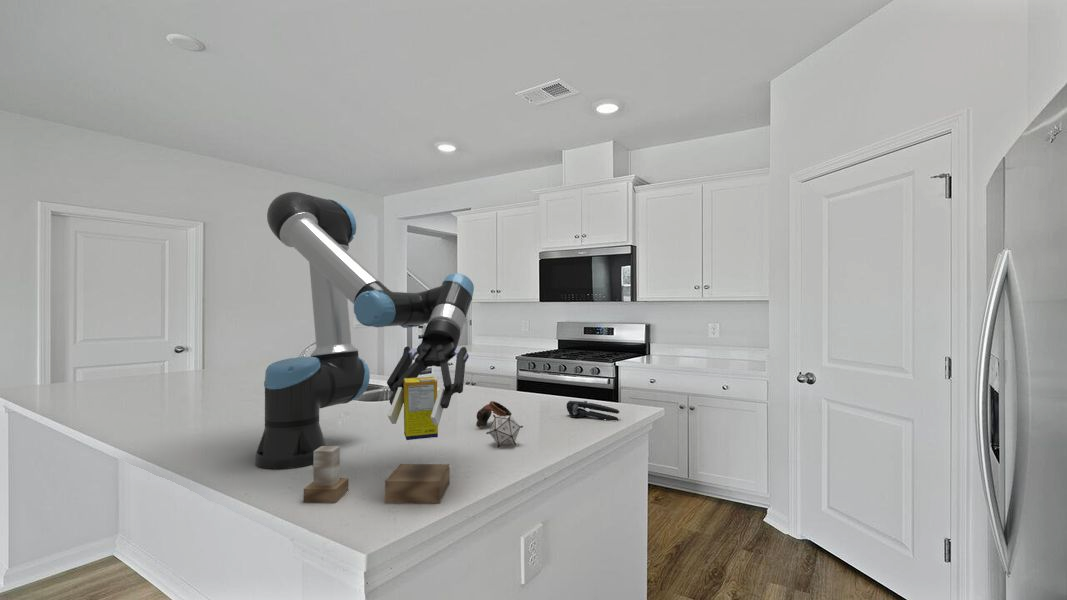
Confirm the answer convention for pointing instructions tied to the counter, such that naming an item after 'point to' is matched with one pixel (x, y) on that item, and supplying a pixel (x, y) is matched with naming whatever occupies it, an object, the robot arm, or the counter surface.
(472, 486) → the counter surface
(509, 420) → the game die
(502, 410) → the brown curved piece
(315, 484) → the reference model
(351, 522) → the counter surface
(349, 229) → the robot arm
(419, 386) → the supplement box
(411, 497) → the plinth
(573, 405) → the can opener
